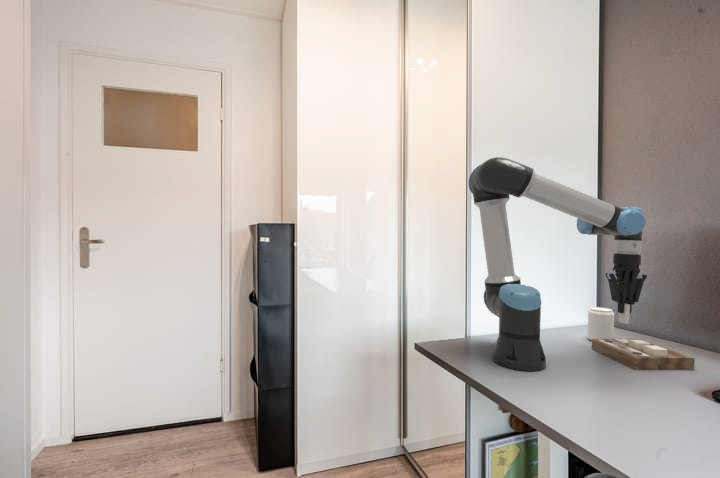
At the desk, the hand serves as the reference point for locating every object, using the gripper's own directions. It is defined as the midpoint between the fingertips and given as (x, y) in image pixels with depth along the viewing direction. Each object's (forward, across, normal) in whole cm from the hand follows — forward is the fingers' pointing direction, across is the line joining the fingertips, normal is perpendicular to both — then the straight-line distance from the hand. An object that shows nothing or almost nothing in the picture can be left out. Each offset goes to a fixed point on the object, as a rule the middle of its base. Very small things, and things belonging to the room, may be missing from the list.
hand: (623, 322), depth 122 cm
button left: (+10, +1, 0) cm, 10 cm away
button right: (+8, +1, -12) cm, 14 cm away
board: (+10, +1, -6) cm, 12 cm away
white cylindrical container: (+10, +2, +13) cm, 17 cm away
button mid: (+8, +1, -6) cm, 10 cm away
